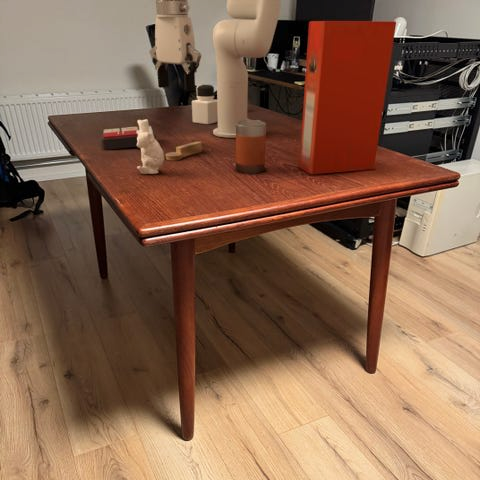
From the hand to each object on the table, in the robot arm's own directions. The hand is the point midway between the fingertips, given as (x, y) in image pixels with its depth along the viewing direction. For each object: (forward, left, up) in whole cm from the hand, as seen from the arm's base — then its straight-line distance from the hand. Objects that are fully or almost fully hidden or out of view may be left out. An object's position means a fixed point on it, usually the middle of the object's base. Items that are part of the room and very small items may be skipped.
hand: (176, 88), depth 123 cm
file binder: (-32, +29, -17) cm, 46 cm away
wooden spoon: (0, +1, -17) cm, 17 cm away
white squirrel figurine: (+13, +13, -17) cm, 25 cm away
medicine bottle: (-24, -40, -17) cm, 49 cm away
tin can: (-11, +21, -17) cm, 29 cm away
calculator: (+10, -18, -17) cm, 26 cm away
